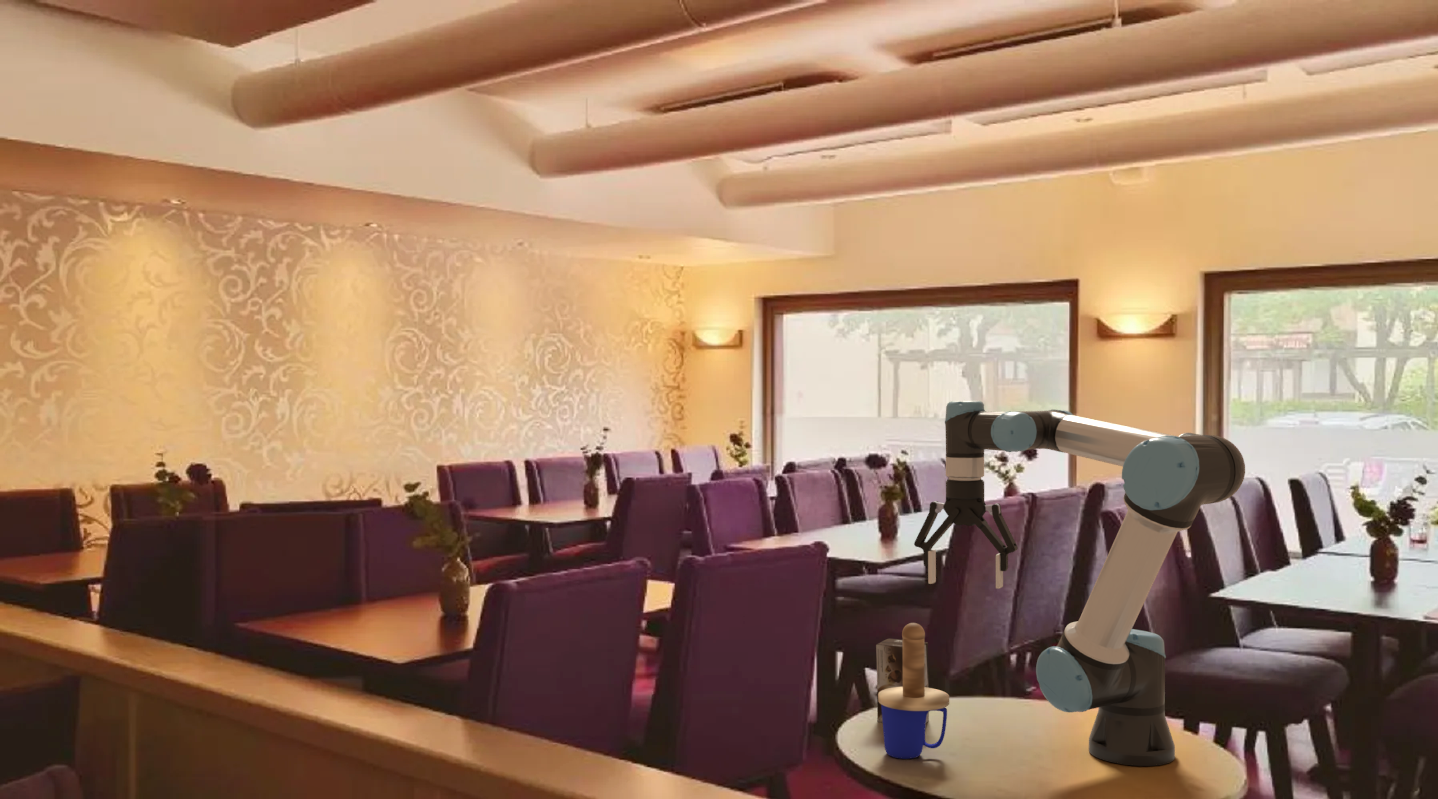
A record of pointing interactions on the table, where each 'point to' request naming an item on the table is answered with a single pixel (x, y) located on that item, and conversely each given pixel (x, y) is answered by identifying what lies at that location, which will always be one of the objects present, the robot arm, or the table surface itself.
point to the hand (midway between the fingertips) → (965, 585)
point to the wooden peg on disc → (913, 678)
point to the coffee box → (893, 668)
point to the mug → (907, 732)
